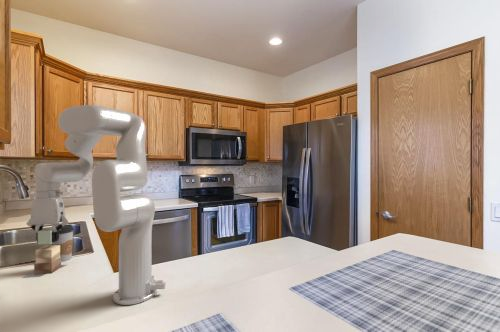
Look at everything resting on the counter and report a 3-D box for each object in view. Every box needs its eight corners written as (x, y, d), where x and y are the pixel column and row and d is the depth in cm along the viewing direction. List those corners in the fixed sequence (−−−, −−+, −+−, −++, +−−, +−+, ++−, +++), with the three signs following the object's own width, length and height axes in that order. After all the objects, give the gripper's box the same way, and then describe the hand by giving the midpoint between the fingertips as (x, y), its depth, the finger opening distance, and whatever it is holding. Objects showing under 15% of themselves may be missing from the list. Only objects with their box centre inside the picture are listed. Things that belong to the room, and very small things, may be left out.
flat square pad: (71, 266, 106) (71, 264, 106) (54, 278, 95) (54, 275, 95) (41, 267, 105) (41, 266, 105) (21, 279, 94) (21, 277, 94)
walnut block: (61, 267, 103) (61, 257, 103) (51, 273, 97) (51, 263, 97) (44, 268, 102) (44, 258, 102) (34, 274, 97) (34, 263, 97)
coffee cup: (61, 265, 107) (61, 229, 107) (45, 264, 109) (44, 228, 109) (78, 258, 115) (78, 224, 115) (63, 257, 117) (62, 224, 117)
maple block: (60, 257, 103) (60, 245, 103) (51, 262, 98) (51, 249, 98) (45, 258, 102) (45, 245, 102) (35, 263, 97) (35, 250, 97)
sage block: (50, 243, 98) (50, 230, 98) (37, 244, 97) (37, 231, 97) (57, 240, 103) (57, 228, 103) (45, 240, 102) (45, 228, 102)
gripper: (76, 193, 105) (76, 238, 105) (30, 194, 102) (30, 239, 102) (65, 195, 97) (65, 243, 97) (16, 196, 95) (16, 245, 95)
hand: (47, 241), depth 100 cm, fingers closed on sage block, 4 cm apart
